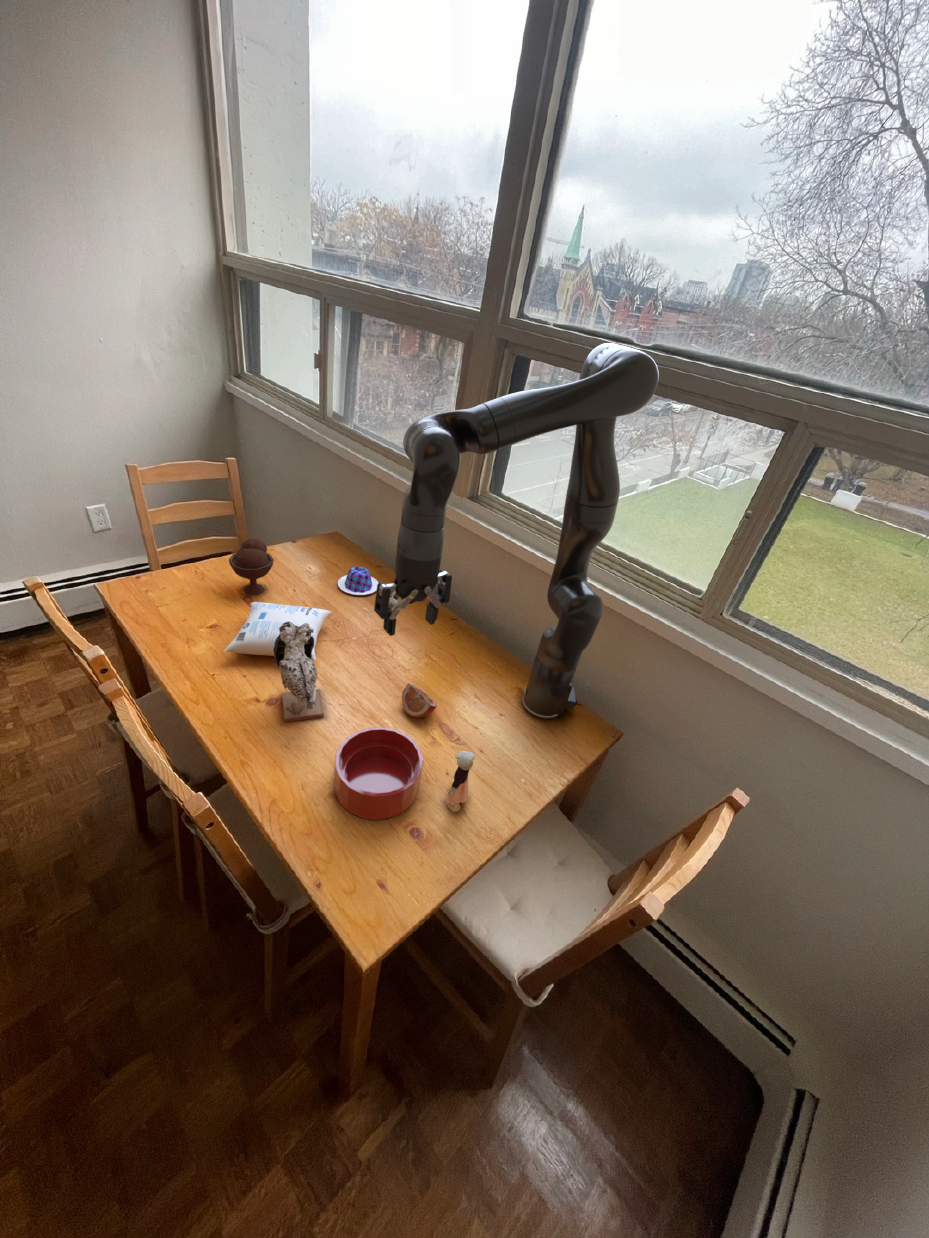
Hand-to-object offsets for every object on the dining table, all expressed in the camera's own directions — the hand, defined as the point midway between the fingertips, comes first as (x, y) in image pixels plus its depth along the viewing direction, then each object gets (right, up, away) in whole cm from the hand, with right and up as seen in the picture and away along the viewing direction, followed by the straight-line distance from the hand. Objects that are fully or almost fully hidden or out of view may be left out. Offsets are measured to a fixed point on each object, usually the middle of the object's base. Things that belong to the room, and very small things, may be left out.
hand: (410, 627), depth 93 cm
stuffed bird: (-24, -17, +15) cm, 33 cm away
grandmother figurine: (+8, -32, +1) cm, 33 cm away
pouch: (-34, -4, +30) cm, 46 cm away
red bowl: (-6, -29, +1) cm, 30 cm away
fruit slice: (0, -19, +19) cm, 27 cm away
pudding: (-22, +11, +57) cm, 62 cm away
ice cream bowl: (-48, +9, +47) cm, 68 cm away
